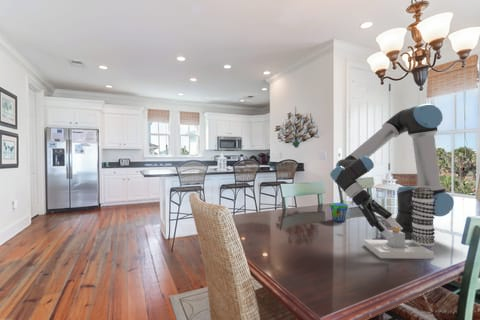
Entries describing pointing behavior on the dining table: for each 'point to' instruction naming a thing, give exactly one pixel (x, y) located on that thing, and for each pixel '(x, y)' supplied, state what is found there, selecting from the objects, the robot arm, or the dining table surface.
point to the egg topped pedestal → (396, 238)
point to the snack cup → (339, 211)
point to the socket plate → (398, 250)
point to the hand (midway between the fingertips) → (395, 234)
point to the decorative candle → (423, 216)
